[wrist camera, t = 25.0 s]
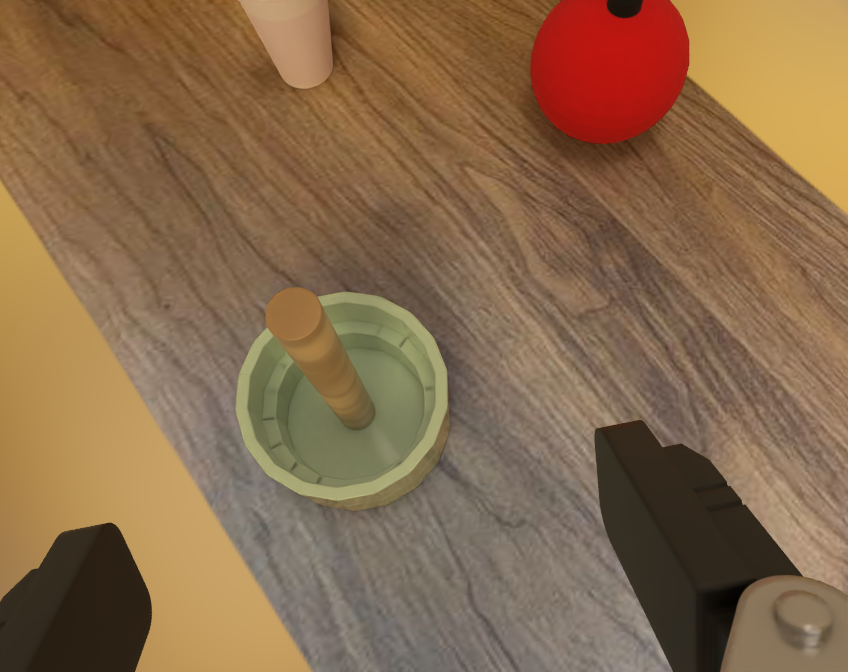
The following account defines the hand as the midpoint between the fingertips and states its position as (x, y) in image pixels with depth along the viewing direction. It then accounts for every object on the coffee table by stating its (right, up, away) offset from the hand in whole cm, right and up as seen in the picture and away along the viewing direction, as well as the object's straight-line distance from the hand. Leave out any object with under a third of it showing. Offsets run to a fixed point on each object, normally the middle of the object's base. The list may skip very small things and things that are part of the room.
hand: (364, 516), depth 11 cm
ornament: (+12, +17, +33) cm, 39 cm away
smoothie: (-7, +21, +36) cm, 42 cm away
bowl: (-3, -2, +27) cm, 27 cm away
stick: (-3, -1, +26) cm, 26 cm away
